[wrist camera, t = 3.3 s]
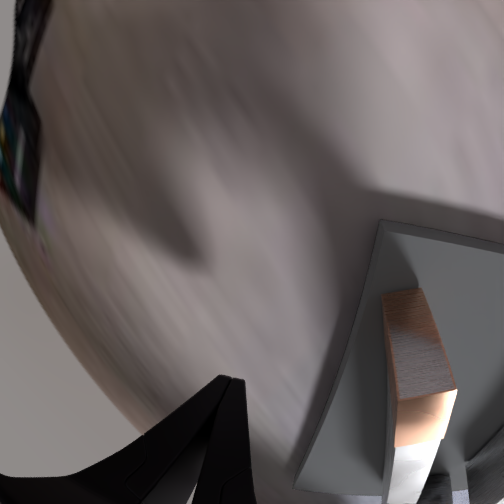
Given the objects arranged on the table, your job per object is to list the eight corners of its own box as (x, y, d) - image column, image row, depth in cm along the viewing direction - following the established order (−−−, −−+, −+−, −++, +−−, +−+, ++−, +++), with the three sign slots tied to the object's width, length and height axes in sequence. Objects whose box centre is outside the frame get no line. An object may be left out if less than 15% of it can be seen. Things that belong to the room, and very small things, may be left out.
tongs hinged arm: (444, 490, 14) (446, 537, 10) (379, 501, 15) (375, 549, 12) (515, 267, 7) (577, 348, 4) (380, 294, 9) (397, 401, 5)
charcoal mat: (494, 474, 14) (496, 483, 13) (294, 477, 17) (292, 489, 16) (633, 282, 6) (642, 291, 5) (379, 218, 9) (384, 231, 8)
